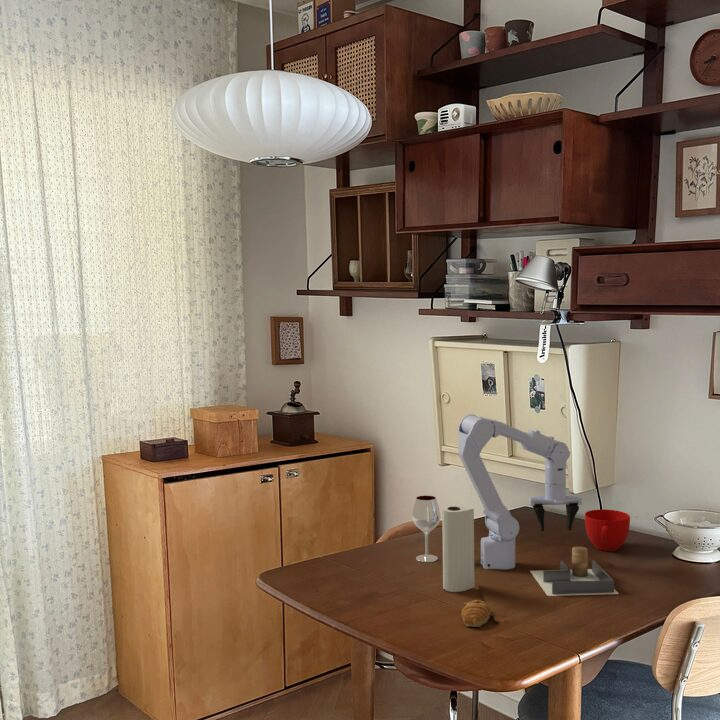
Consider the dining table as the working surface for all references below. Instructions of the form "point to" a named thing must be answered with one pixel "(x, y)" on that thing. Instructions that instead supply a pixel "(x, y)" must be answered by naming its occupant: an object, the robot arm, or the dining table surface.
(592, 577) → the track board
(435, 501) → the wineglass
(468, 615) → the pastry
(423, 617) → the dining table surface
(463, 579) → the paper towel roll
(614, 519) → the ceramic cup
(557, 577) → the metal rails
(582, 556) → the oak dowel
